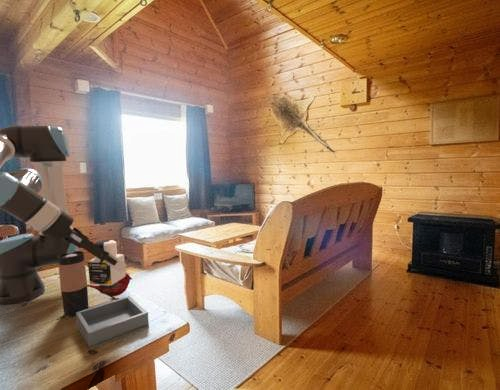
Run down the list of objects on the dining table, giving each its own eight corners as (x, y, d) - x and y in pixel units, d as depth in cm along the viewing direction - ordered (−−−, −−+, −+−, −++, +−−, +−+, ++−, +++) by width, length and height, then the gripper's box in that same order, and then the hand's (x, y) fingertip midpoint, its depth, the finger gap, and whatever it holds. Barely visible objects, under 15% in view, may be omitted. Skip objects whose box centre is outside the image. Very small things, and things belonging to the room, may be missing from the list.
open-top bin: (77, 326, 92) (75, 312, 91) (130, 308, 102) (129, 296, 102) (90, 349, 80) (88, 333, 79) (148, 326, 90) (147, 312, 90)
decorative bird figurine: (132, 301, 108) (130, 274, 107) (83, 302, 108) (81, 276, 107) (135, 297, 110) (133, 271, 109) (88, 299, 111) (85, 273, 110)
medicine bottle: (89, 284, 86) (85, 244, 85) (105, 275, 93) (102, 238, 92) (111, 285, 85) (108, 244, 84) (126, 276, 92) (123, 238, 91)
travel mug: (77, 318, 97) (71, 258, 95) (57, 316, 98) (51, 257, 96) (94, 307, 104) (89, 251, 102) (75, 305, 106) (70, 250, 104)
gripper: (35, 226, 86) (99, 266, 98) (45, 240, 69) (121, 285, 81) (54, 206, 89) (114, 247, 101) (70, 214, 72) (139, 262, 84)
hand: (117, 264), depth 91 cm, fingers closed on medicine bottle, 10 cm apart
